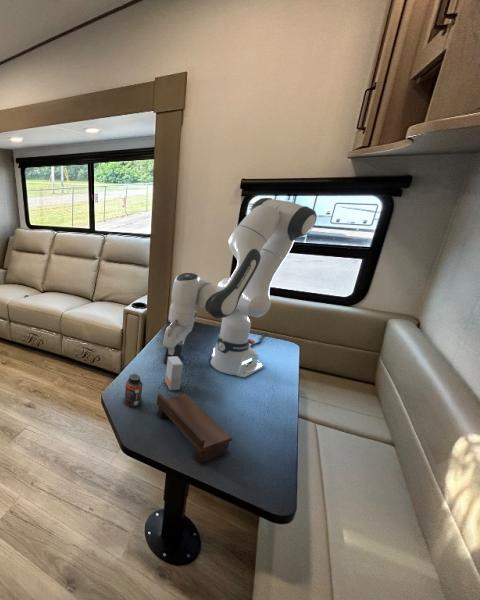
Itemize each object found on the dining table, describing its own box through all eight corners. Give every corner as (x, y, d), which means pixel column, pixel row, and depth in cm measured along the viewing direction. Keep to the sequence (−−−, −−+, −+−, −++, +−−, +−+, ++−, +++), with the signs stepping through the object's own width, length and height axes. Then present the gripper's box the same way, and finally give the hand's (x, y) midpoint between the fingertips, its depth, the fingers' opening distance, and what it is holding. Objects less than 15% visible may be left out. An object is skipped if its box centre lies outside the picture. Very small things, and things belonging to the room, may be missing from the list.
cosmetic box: (164, 381, 130) (167, 356, 126) (174, 380, 131) (177, 355, 126) (169, 390, 125) (172, 364, 120) (180, 390, 125) (183, 364, 121)
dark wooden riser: (183, 406, 116) (186, 386, 113) (229, 452, 97) (234, 429, 94) (155, 415, 112) (157, 394, 109) (197, 464, 93) (202, 441, 90)
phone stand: (177, 366, 141) (181, 342, 136) (164, 363, 143) (166, 339, 138) (180, 356, 148) (183, 333, 144) (167, 353, 151) (170, 331, 146)
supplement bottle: (140, 408, 115) (142, 382, 111) (124, 406, 116) (125, 380, 112) (140, 398, 121) (143, 373, 116) (125, 395, 122) (126, 371, 118)
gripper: (178, 328, 107) (173, 363, 112) (199, 310, 122) (193, 342, 127) (160, 323, 111) (156, 357, 116) (183, 306, 125) (178, 337, 131)
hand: (176, 349), depth 121 cm, fingers open, 8 cm apart
